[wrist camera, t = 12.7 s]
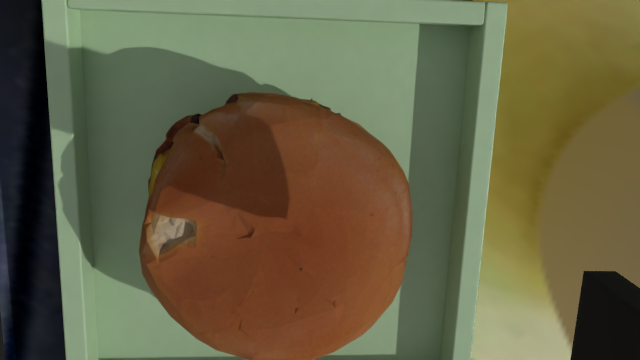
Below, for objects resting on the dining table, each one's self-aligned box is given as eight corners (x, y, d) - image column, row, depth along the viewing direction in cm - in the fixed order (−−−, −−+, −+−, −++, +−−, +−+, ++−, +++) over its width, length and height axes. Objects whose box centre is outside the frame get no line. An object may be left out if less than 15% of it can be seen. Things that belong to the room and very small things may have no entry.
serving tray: (488, 5, 22) (509, 2, 21) (451, 375, 26) (466, 403, 24) (60, -14, 21) (39, -19, 19) (84, 381, 25) (68, 411, 23)
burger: (409, 305, 24) (441, 365, 20) (184, 346, 24) (164, 417, 20) (377, 63, 22) (405, 69, 18) (127, 105, 22) (89, 122, 17)
